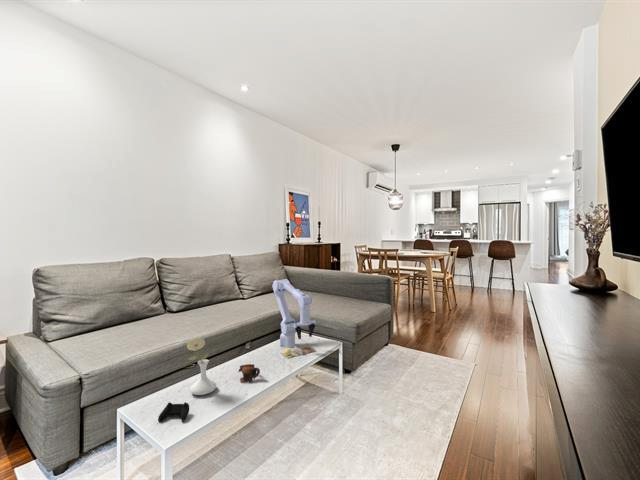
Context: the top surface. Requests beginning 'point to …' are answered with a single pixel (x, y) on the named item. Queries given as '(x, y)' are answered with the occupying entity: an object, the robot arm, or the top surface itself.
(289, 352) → the ball
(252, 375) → the pottery mug
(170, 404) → the gaming controller
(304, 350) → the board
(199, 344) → the flower in vase
